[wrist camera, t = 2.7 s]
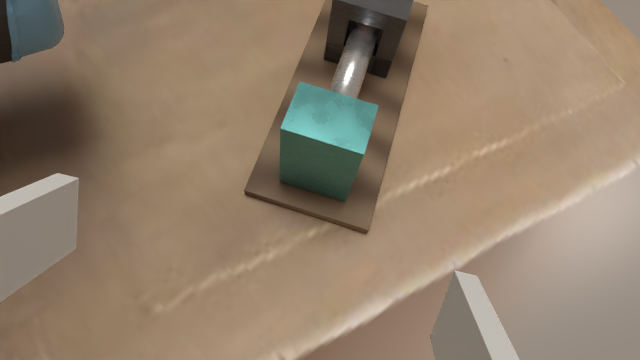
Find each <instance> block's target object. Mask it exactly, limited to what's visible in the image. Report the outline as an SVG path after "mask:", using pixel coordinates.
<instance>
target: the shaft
mask: <svg viewBox="0 0 640 360" xmlns="http://www.w3.org/2000/svg"><path fill="white" fill-rule="evenodd" d="M379 31H380V29H379V28H375V27H372V26H369V25H365V24H362V23H359V22H355V21H354V23H353V26H352V28H351V31H350V34H349V36H348V39H347V42H346V45H345V47H344V50H343V53H342V55H341V58H340V61H339V63H338V66H337V69H336V71H335V74H334V77H333V80H332V82H331V85H330V88H329V90H327V89H324V88H320V87H317V86H314V85H311V84H307V83H304V82H301V81H300V82H299V84H298V87H297V89H296V91H295V94H294V96H293V99H292V101H291V103H290V106H289V108H288V111H287V113H286V116H285V118H284V120H283V123H282V125H281V128H280V174H279V181H281V182H284V183H287V184H290V185H293V186H296V187H300V188H303V189H306V190H309V191H312V192H315V193H318V194H321V195H325V196H328V197H331V198H334V199H337V200H340V201H343V202H346V199H347V197H348V194H349V192H350V189H351V186H352V184H353V181H354V179H355V176H356V174H357V171H358V169H359V166H360V164H361V161H362V159H363V156H364V153H365V150H366V147H367V143H368V140H369V137H370V133H371V130H372V126H373V123H374V120H375V116H376V113H377V110H378V106H379V105H376V104H372V103H369V102H366V101H363V100H359V99H357V98H358V95H359V92H360V89H361V86H362V83H363V80H364V77H365V74H366V71H367V68H368V65H369V61H370V58H371V55H372V52H373V49H374V46H375V43H376V40H377V37H378V34H379Z"/></svg>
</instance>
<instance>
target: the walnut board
mask: <svg viewBox="0 0 640 360" xmlns="http://www.w3.org/2000/svg"><path fill="white" fill-rule="evenodd" d="M331 6H332V0H326V1H325V3H324V5H323V8H322V10H321V12H320V15H319V17H318V19H317V22H316V24H315V26H314V29H313V31H312V33H311V36H310V38H309V40H308V43H307V45H306V47H305V50H304V52H303V54H302V57H301V59H300V61H299V64H298V66H297V68H296V71H295V73H294V75H293V78H292V80H291V82H290V85H289V87H288V89H287V92H286V94H285V96H284V99H283V101H282V103H281V106H280V108H279V110H278V113H277V115H276V117H275V120H274V122H273V125H272V127H271V129H270V132H269V134H268V136H267V139H266V141H265V143H264V146H263V148H262V150H261V153H260V155H259V157H258V160H257V162H256V164H255V167H254V169H253V171H252V174H251V176H250V178H249V181H248V183H247V185H246V188H245V190H244V191H245V194H246V195H249V196H252V197H255V198H258V199H261V200H265V201H268V202H271V203H274V204H277V205H280V206H283V207H286V208H289V209H292V210H296V211H299V212H302V213H305V214H308V215H311V216H314V217H317V218H320V219H323V220H327V221H330V222H333V223H336V224H339V225H342V226H345V227H348V228H351V229H355V230H358V231H361V232H364V233H367V232H368V230H369V226H370V222H371V219H372V215H373V211H374V207H375V204H376V200H377V196H378V192H379V189H380V185H381V181H382V177H383V174H384V170H385V166H386V162H387V158H388V155H389V151H390V147H391V143H392V140H393V136H394V132H395V128H396V125H397V121H398V117H399V113H400V110H401V106H402V102H403V98H404V94H405V91H406V87H407V83H408V79H409V76H410V72H411V68H412V64H413V61H414V57H415V53H416V49H417V46H418V42H419V38H420V34H421V31H422V27H423V23H424V19H425V15H426V12H427V8H428V6H427V5H424V4H420V3H417V2H413V3H412V7H411V10H410V13H409V17H408V20H407V23H406V26H405V29H404V31H403V34H402V37H401V39H400V42H399V45H398V48H397V50H396V53H395V56H394V58H393V61H392V64H391V66H390V69H389V72H388V75H387V77H386V79H385V78H382V77H378V76H375V75H372V74H369V73H366V74H365V77H364V80H363V83H362V86H361V89H360V92H359V95H358V98H357V99H359V100H363V101H366V102H369V103H372V104H376V105H379V106H378V110H377V113H376V116H375V120H374V123H373V126H372V130H371V133H370V137H369V140H368V143H367V147H366V150H365V153H364V156H363V159H362V161H361V164H360V166H359V169H358V171H357V174H356V176H355V179H354V181H353V184H352V186H351V189H350V192H349V194H348V197H347V199H346V202H343V201H340V200H337V199H334V198H331V197H328V196H325V195H321V194H318V193H315V192H312V191H309V190H306V189H303V188H300V187H296V186H293V185H290V184H287V183H284V182H281V181H279V174H280V128H281V125H282V123H283V120H284V118H285V116H286V113H287V111H288V108H289V106H290V103H291V101H292V99H293V96H294V94H295V91H296V89H297V87H298V84H299V82H300V81H301V82H304V83H307V84H311V85H314V86H317V87H320V88H324V89H327V90H329V88H330V85H331V82H332V80H333V77H334V74H335V71H336V69H337V66H338V64H336V63H332V62H329V61H326V60H324V53H325V46H326V40H327V33H328V26H329V20H330V13H331Z"/></svg>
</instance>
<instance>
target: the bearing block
mask: <svg viewBox="0 0 640 360" xmlns="http://www.w3.org/2000/svg"><path fill="white" fill-rule="evenodd" d="M412 3H413V0H332V6H331V13H330V20H329V26H328V33H327V40H326V46H325V53H324V60H326V61H329V62H332V63H336V64H338V63H339V61H340V58H341V55H342V53H343V50H344V47H345V45H346V42H347V39H348V36H349V34H350V31H351V28H352V26H353V23H354V21H355V22H359V23H362V24H365V25H369V26H372V27H375V28H379V29H380V31H379V34H378V37H377V40H376V43H375V46H374V49H373V52H372V55H371V58H370V61H369V65H368V68H367V71H366V73H369V74H372V75H375V76H378V77H382V78H385V79H386V77H387V75H388V72H389V69H390V66H391V64H392V61H393V58H394V56H395V53H396V50H397V48H398V45H399V42H400V39H401V37H402V34H403V31H404V29H405V26H406V23H407V20H408V17H409V13H410V10H411V7H412Z"/></svg>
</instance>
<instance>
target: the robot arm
mask: <svg viewBox="0 0 640 360" xmlns="http://www.w3.org/2000/svg"><path fill="white" fill-rule="evenodd" d="M63 33H64V24H63V19H62V15H61V11H60V8H59V4H58V1H57V0H0V63H5V62H9V61H12V62H16V61H18V60H20V58H21V57H23V56H27V55H30V54H33V53H37V52H40V51H44V50H47V49H51V48H53V47H54V46H56V45H57V44H58V43H59V42H60V40H61V39H62V37H63ZM78 192H79V178H76V177H72V176H68V175H64V174H60V173H56V174H54V175H51V176H49V177H46V178H44V179H42V180H39V181H37V182H34V183H32V184H30V185H27V186H25V187H22V188H20V189H18V190H15V191H13V192H10V193H8V194H5V195H3V196H1V197H0V302H1V301H3V300H4V299H6V298H7V297H9V296H10V295H11V294H13V293H14V292H16V291H17V290H18V289H20V288H21V287H23V286H24V285H25V284H27V283H28V282H30V281H31V280H33V279H34V278H35V277H37V276H38V275H40V274H41V273H42V272H44V271H45V270H47V269H48V268H50V267H51V266H52V265H54V264H55V263H57V262H58V261H59V260H61V259H62V258H64V257H65V256H66V255H68V254H69V253H71V252H72V251H74V250H75V249H76V245H77V219H78ZM430 339H431V343H432V347H433V352H434V356H435V360H519V358H518V356H517V354H516V352H515V350H514V348H513V346H512V344H511V342H510V340H509V338H508V336H507V334H506V332H505V330H504V328H503V326H502V324H501V323H500V320H499V319H498V316H497V315H496V313H495V311H494V309H493V307H492V305H491V303H490V301H489V299H488V297H487V295H486V293H485V291H484V289H483V287H482V285H481V283H480V281H479V279H478V277H477V276H474V275H470V274H467V273H462V272H459V271H454V274H453V276H452V279H451V282H450V284H449V287H448V290H447V292H446V295H445V298H444V301H443V303H442V306H441V308H440V311H439V314H438V316H437V319H436V322H435V324H434V327H433V330H432V332H431V335H430Z"/></svg>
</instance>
